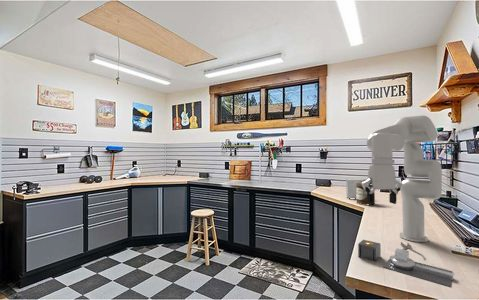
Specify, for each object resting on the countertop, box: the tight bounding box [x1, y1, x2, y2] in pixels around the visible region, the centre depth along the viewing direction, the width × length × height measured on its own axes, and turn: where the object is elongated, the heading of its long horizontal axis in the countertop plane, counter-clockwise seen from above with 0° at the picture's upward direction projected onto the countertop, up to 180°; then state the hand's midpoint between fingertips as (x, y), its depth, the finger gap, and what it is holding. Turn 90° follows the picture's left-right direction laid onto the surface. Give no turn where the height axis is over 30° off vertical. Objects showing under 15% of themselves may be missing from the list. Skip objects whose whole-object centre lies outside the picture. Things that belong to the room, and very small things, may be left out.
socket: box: [357, 239, 382, 263], centre depth 105 cm, size 7×7×6 cm
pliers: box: [400, 241, 427, 261], centre depth 113 cm, size 10×1×20 cm
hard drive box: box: [345, 178, 365, 199], centre depth 243 cm, size 16×8×20 cm, turn 82°
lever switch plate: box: [383, 248, 454, 288], centre depth 93 cm, size 14×20×6 cm
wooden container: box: [356, 179, 376, 205], centre depth 219 cm, size 15×15×22 cm
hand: (381, 203), depth 100 cm, fingers open, 9 cm apart
